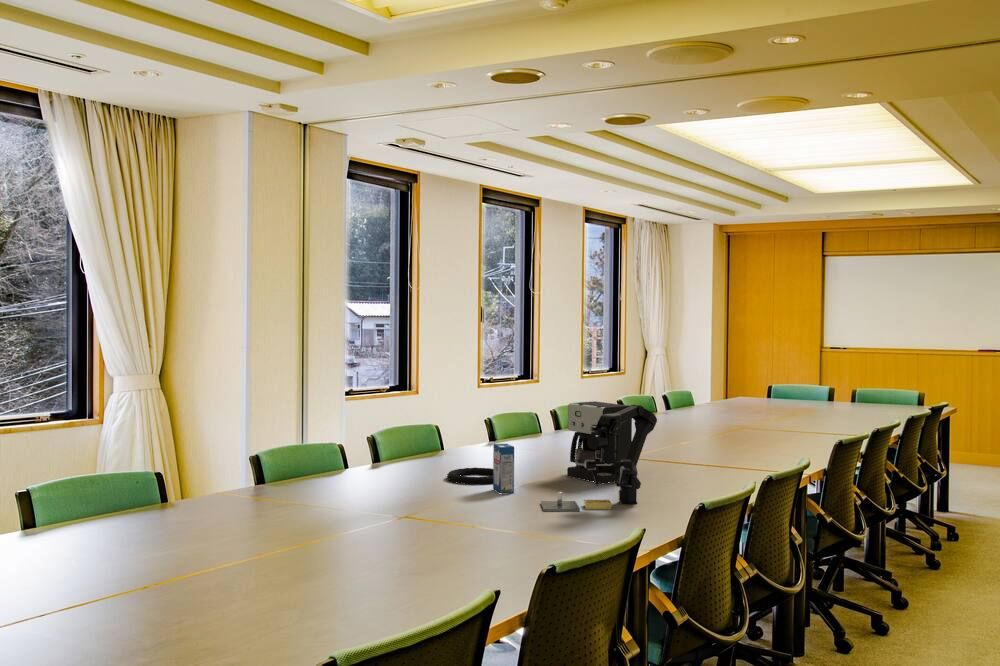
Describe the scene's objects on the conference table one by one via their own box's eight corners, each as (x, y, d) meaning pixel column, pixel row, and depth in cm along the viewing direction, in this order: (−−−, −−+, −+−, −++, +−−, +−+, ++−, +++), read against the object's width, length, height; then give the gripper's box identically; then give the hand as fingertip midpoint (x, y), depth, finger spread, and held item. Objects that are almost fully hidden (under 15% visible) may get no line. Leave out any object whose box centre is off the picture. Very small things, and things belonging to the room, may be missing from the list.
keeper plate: (575, 503, 349) (575, 488, 348) (579, 511, 335) (579, 496, 334) (540, 503, 348) (540, 488, 348) (543, 511, 334) (543, 496, 334)
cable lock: (455, 465, 415) (516, 468, 409) (455, 473, 416) (516, 476, 409) (439, 475, 388) (505, 478, 382) (439, 484, 388) (505, 487, 382)
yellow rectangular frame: (608, 505, 345) (608, 499, 345) (611, 509, 339) (611, 503, 339) (583, 505, 345) (583, 499, 345) (586, 509, 338) (586, 503, 338)
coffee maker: (560, 475, 412) (561, 401, 411) (590, 470, 423) (591, 399, 423) (601, 484, 389) (602, 407, 388) (631, 479, 401) (632, 404, 400)
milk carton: (513, 493, 368) (514, 446, 367) (500, 494, 366) (500, 447, 365) (506, 488, 377) (507, 443, 377) (493, 489, 375) (493, 443, 375)
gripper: (628, 443, 350) (628, 481, 350) (582, 443, 349) (582, 481, 350) (633, 447, 339) (633, 487, 339) (586, 447, 338) (586, 487, 339)
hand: (608, 485), depth 342 cm, fingers open, 9 cm apart
